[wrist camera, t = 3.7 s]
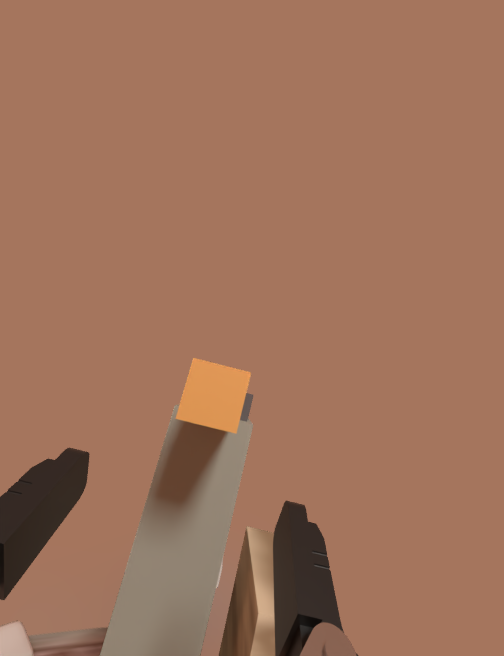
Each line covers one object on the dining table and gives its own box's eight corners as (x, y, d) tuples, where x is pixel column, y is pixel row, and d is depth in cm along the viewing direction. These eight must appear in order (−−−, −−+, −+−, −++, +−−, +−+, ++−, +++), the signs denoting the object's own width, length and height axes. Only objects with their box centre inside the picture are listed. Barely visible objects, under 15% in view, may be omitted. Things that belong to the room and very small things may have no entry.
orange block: (232, 411, 37) (238, 385, 38) (236, 433, 16) (251, 372, 17) (206, 404, 37) (213, 378, 38) (175, 418, 16) (193, 357, 16)
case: (173, 726, 29) (251, 396, 38) (131, 978, 17) (262, 396, 25) (104, 711, 29) (198, 382, 38) (10, 953, 16) (183, 376, 25)
